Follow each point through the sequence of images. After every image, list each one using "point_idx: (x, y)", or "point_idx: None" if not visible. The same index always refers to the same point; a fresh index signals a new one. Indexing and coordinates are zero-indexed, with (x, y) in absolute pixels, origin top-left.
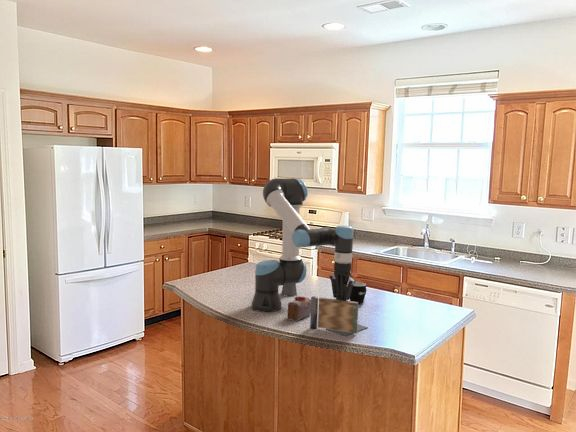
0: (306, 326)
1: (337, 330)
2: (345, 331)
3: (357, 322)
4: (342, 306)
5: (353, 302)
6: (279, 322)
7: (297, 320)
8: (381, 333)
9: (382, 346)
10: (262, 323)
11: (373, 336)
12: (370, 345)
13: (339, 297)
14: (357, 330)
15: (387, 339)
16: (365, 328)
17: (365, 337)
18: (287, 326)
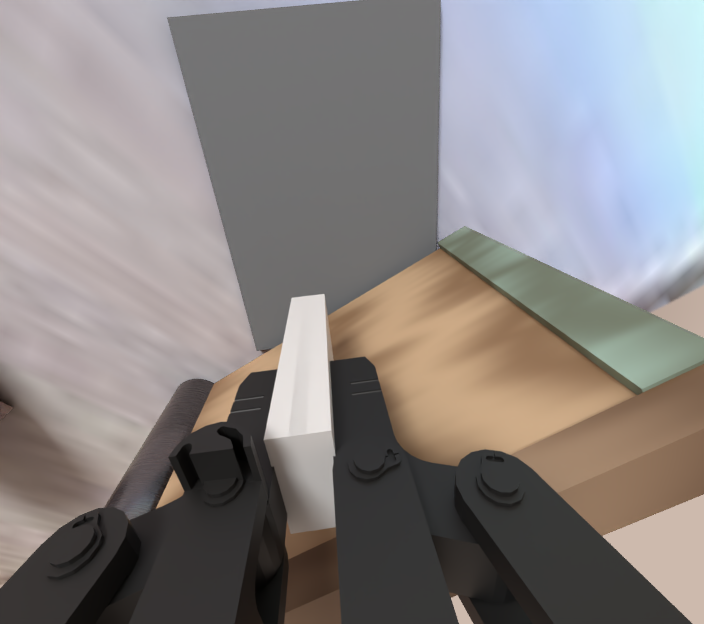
0: (146, 412)
1: (332, 311)
2: (382, 277)
3: (506, 247)
4: None
5: (691, 480)
6: (12, 494)
7: (9, 411)
8: (611, 6)
9: (699, 250)
10: (9, 555)
11: (581, 149)
12: (627, 300)
13: (261, 566)
14: (429, 176)
15: (701, 100)
16: (438, 47)
17: (541, 223)
18: (105, 489)
